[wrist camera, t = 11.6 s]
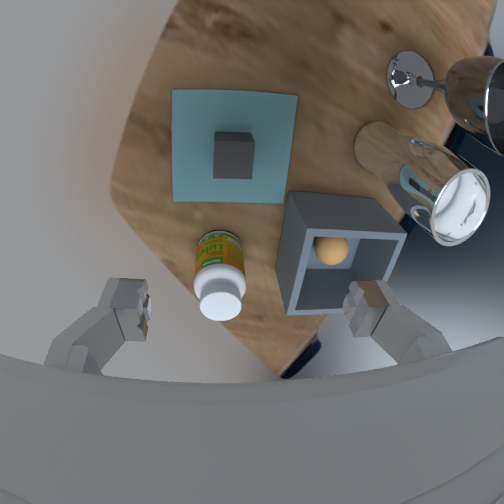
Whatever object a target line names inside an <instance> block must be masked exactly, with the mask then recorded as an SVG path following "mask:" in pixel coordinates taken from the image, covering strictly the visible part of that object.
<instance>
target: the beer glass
mask: <svg viewBox="0 0 504 504" xmlns="http://www.w3.org/2000/svg"><path fill="white" fill-rule="evenodd" d="M354 154H355V157H356V160H357V161H358V163H359V164H360V165H361V166H362V167H363V168H364V169H366V170H367V171H370V172H372V173H374V174H377V175H378V176H379V177H380V178H381V180H382V181H383V182H384V184H385V185H386V187H387V189H388V190H389V191H390V193H391V195H392V196H393V197H394V199H395V200H396V201H397V203H398V204H399V205H400V207H401V208H402V209H403V210H404V211H405V212H406V213H407V214H408V215H409V216H410V217H411V218H412V219H413V220H414V221H415V222H416V223H417V224H418V225H420V226H421V227H422V228H423V229H424V230H425V231H427V232H428V233H429V234H430V235H431V236H432V237H434V238H435V240H436V241H437V242H439V243H440V244H442V245H445V246H453V245H457V244H460V243H462V242H463V241H465V240H466V239H468V238H469V237H470V236H471V235H472V234H473V233H474V232H475V231H476V230H477V229H478V227H479V226H480V224H481V223H482V221H483V219H484V217H485V215H486V212H487V210H488V206H489V201H490V187H489V183H488V180H487V178H486V176H485V175H484V174H483V173H482V172H481V171H480V170H478V169H476V168H475V167H474V166H473V165H471V164H470V163H469V162H467V161H466V160H465V159H463V158H462V157H461V156H459V155H458V154H456V153H454V152H453V151H451V150H449V149H448V148H446V147H444V146H441V145H439V144H437V143H434V142H431V141H428V140H425V139H420V138H416V137H411V136H406V135H403V134H401V133H399V132H398V131H397V130H396V129H395V128H394V127H392V126H391V125H389V124H388V123H385V122H381V121H375V122H371V123H369V124H367V125H365V126H364V127H363V128H362V129H361V130H360V131H359V132H358V134H357V136H356V138H355V142H354Z"/></svg>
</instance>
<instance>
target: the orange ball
mask: <svg viewBox="0 0 504 504" xmlns="http://www.w3.org/2000/svg"><path fill="white" fill-rule="evenodd" d="M348 249H349V247H348V242H347V240H346V238H341V237H318V238H317V240H316V242H315V253H316V256H317V257H318V259H319V260H320V261H321V262H323V263H325V264H327V265H336V264H339V263H341V262H342V261H343V260H344V259H345V258H346V256H347V254H348Z"/></svg>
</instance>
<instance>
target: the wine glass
mask: <svg viewBox="0 0 504 504" xmlns="http://www.w3.org/2000/svg"><path fill="white" fill-rule="evenodd" d="M387 83H388V87H389V90H390V92H391V94H392V96H393V97H394V99H395V100H396V101H397V102H398V103H399V104H401V105H402V106H404V107H406V108H409V109H419V108H422V107H424V106H425V105H427V104H428V103H429V102H430V100H431V99H432V97H433V95H434V91H435V90H438V91H440V92H441V93H443V95H444V98H445V102H446V105H447V108H448V110H449V112H450V114H451V116H452V117H453V119H454V120H455V121H456V122H457V123H458V125H459V126H460V127H461V128H462V129H464V130H465V131H466V132H467V133H468V134H469V135H471V136H472V137H474V138H475V139H476V140H478V141H479V142H480V143H482V144H483V145H485V146H486V147H488V148H490V149H491V150H493V151H495V152H497V153H499V154H501V155H503V156H504V58H497V57H491V56H474V57H469V58H464V59H461V60H459V61H457V62H455V63H454V64H453V65H452V66H451V68H450V69H449V70H448V72H447V74H446V77H445V79H444V80H441V81H436V80H435V76H434V72H433V70H432V67H431V66H430V64H429V63H428V61H427V60H426V59H425V58H424V57H423V56H421V55H420V54H418V53H416V52H413V51H403V52H400V53H398V54H396V55H395V56H394V57H393V58H392V60H391V61H390V63H389V65H388V69H387Z"/></svg>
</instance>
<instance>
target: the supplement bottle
mask: <svg viewBox="0 0 504 504" xmlns="http://www.w3.org/2000/svg"><path fill="white" fill-rule="evenodd" d="M194 291H195V293H196V295H197V297H198V298H199V299H200V310H201V312H202V313H203V314H204V315H205V316H206V317H208V318H210V319H212V320H217V321H225V320H229V319H232V318H234V317H235V316H237V315H238V314H239V312H240V310H241V306H242V305H241V298H242V297H243V295H244V293H245V291H246V277H245V269H244V261H243V252H242V246H241V243H240V241H239V240H238V238H237V237H236V236H234V235H233V234H231V233H229V232H225V231H213V232H210V233H208V234H206V235H205V236H204V237H203V238H202V239H201V240H200V241H199V243H198V247H197V254H196V265H195V275H194Z"/></svg>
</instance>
